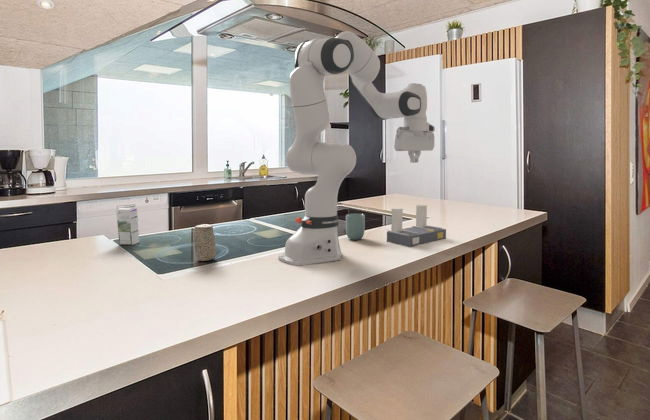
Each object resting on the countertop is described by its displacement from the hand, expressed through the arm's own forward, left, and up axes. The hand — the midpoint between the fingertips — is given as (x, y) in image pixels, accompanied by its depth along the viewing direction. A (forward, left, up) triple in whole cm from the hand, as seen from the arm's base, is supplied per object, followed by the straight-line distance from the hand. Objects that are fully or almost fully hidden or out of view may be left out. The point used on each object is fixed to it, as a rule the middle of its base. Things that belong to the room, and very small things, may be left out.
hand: (414, 162), depth 169 cm
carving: (-78, +24, -31) cm, 87 cm away
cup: (-17, +16, -31) cm, 39 cm away
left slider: (-8, +2, -27) cm, 28 cm away
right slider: (+7, +2, -27) cm, 28 cm away
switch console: (0, -2, -31) cm, 31 cm away
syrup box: (-91, +69, -31) cm, 118 cm away
